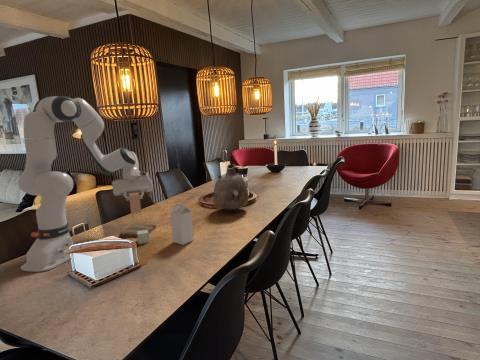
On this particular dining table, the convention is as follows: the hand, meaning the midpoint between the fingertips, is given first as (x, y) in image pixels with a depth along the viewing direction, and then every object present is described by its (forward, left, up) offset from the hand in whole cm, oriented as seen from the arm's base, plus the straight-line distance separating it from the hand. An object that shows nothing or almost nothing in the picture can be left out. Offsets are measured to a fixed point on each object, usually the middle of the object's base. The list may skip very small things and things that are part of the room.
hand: (134, 199), depth 164 cm
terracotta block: (+1, 0, -7) cm, 7 cm away
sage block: (-12, -8, -18) cm, 23 cm away
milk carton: (-11, -29, -18) cm, 36 cm away
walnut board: (0, 0, -18) cm, 18 cm away
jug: (+38, -44, -18) cm, 61 cm away
